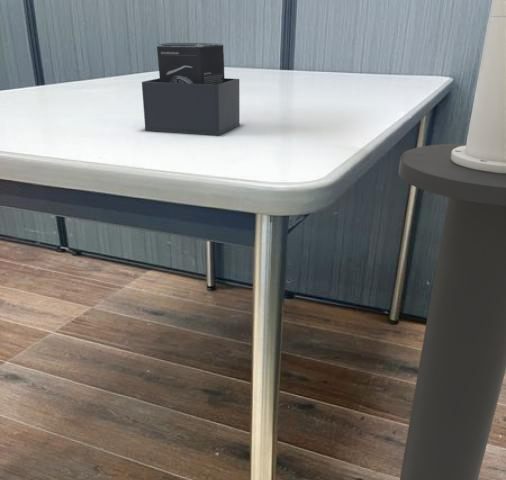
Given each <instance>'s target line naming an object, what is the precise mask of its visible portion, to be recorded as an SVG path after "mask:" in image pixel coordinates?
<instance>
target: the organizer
mask: <svg viewBox="0 0 506 480" xmlns="http://www.w3.org/2000/svg"><path fill="white" fill-rule="evenodd" d="M224 78H225V82H224V83H221V84H217V85H213V84H189V83H165V82H160V77H159V78H153V79H149V80H143V81H141V88H142V89H141V90H142V104H143V116H144V130H145V131H146V132H160V133H176V134H191V135H207V136H221V135H222V134H225V133H227V132H229V131H231V130H232V129H235V128H237V127H238V126H240V123H241V122H240V117H241V116H240V78H227V77H224Z"/></svg>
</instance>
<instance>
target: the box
mask: <svg viewBox="0 0 506 480" xmlns="http://www.w3.org/2000/svg"><path fill="white" fill-rule="evenodd" d="M156 52H157V53H156V54H157V65H158V72H159V73H158V74H159V76H158V77H159V78H160V82H165V83H189V84H213V85H217V84H221V83H224V82H225V78H226V77H225V54H224V44H223V43H215V42H214V43H209V42H166V43H160V44H157V45H156Z"/></svg>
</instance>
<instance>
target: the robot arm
mask: <svg viewBox="0 0 506 480" xmlns="http://www.w3.org/2000/svg"><path fill="white" fill-rule="evenodd" d="M485 31H486V32H485V37H484V42H483V47H482V54H481V58H480V59H481V60H480V64H479V70H478V77H477V82H476V87H475V93H474V99H473V104H472V109H471V116H470V120H469V127H468V132H467V136H466V137H467V139H466V142H465V143H466V146H460V147H457V148H455V149H453V150H452V152H451V160H452V162H454V163H455V164H457V165H460V166H462V167H466V168H469V169H473V170H478V171H484V172H490V173H498V174H506V0H491V5H490V11H489V15H488V19H487V27H486V30H485Z"/></svg>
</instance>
